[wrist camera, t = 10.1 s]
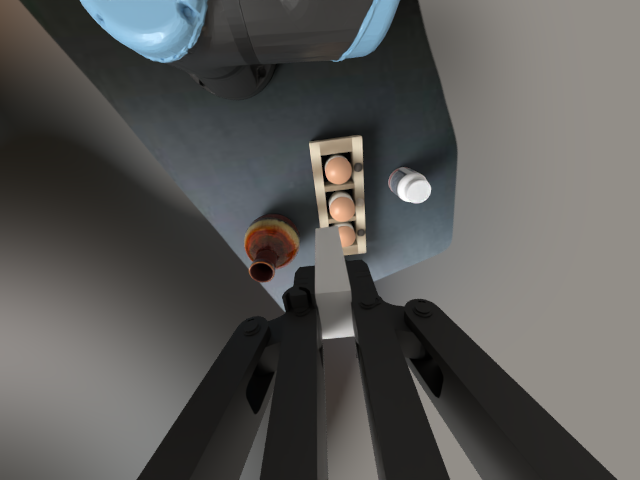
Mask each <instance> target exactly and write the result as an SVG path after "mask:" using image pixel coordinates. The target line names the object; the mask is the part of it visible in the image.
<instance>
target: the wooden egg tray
mask: <svg viewBox="0 0 640 480" xmlns="http://www.w3.org/2000/svg"><path fill="white" fill-rule="evenodd" d="M309 146H310V154H311V161H312V169H313V176H314V183H315V191H316V198H317V206H318V213H319V221H320V228H324V227H329V224H331V223H339V221H336V220H335V219H333V218H332V216H331V214H330V212H327V207H326V198H325V192H329V191H337V190H345V189H352V196H353V203H354V205H355V213H354V215H353V217H352V218H351V219H349V220H348V221H354V229H355V235H356V238H355V241H354V243H353V244H352V245H350V246H348V247H342V249H343V254H344V255H353V254H362V253H366V233H365V205H364V177H363V149H362V136H360V135H354V136H347V137H339V138H332V139H325V140H317V141H310V142H309ZM344 152H350V162H351V168H352V173H351V179H348V180H347V181H346V182H345V183H343V184H333V183H331V182H330V181H329V182H324V181H323V172H322V163H321V155H329V154H336V153H344ZM348 221H345V222H348Z"/></svg>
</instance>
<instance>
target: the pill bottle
mask: <svg viewBox="0 0 640 480" xmlns="http://www.w3.org/2000/svg"><path fill="white" fill-rule="evenodd" d="M388 183H389V187H390V189H391V190H392V191H393V192H394V193H395V194H396V195H397V196H398V197H400V198H401V199H402V200H404V201H406V202H412V203H421V202H423V201H425V200H426V199H427V198H428V197H429V195H430V193H431V186H430V184H429V183H428V182H427V180H426V178H425V177H424V176H423V175H422V174H420V173H418V172H416V171H414V170H412V169H410V168H407V167H401V168H398V169H396V170H395V171H393V172H392V174H391V175H390V177H389V182H388Z"/></svg>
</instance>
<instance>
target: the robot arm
mask: <svg viewBox="0 0 640 480" xmlns="http://www.w3.org/2000/svg"><path fill="white" fill-rule="evenodd" d="M399 1H400V0H80V2H81V3H82V5H83V6H84V7H85V9H86V10H87V11H88V12H89V14H90V15H91V16H92V17H93V18H94V20H95V21H96V22H97V23H98V24H100V25H101V27H102V28H103V29H104V30H106V31H107V32H108V33H109V34H110V35H112V36H113V37H114V38H115V39H117V40H118V41H119V42H121V43H122V44H124V45H126V46H127V47H129V48H131V49H133V50H134V51H136V52H137V53H139V54H140V55H143V56H144V57H146V58H149V59H151V60H153V61H159V62H162V63H165V64H168V65H171V66H173V67H176V68H179V69H181V70H184V71H187V72H188V73H189V74H190V76H191V77H192V78H193V79H194V80H195V81H196V82H197V83H198V84H199V85H200V86H201V87H203V88H204V89H205V90H207V91H208V92H210V93H212V94H214V95H216V96H219V97H222V98H225V99H230V100H244V99H248V98H250V97H253V96H255V95H256V94H258V93H259V92H260V91H261V90H263V89H264V87H265V86H266V85H267V84H268V82H269V81H270V79H271V77H272V75H273V72H274V69H275V66H276V64H277V63H295V62H312V61H330V60H331V61H333V62H338V61H342V60H344V59H345V58H354V57H362V56H365V55H367V54H369V53H371V52H372V51H374V50H375V49H376V48H377V47H378V45H379V44H380V43H381V41H382V40H383V38H384V37H385V35H386V33H387V31H388V29H389V27H390V25H391V22H392V20H393V18H394V15H395V12H396V10H397V7H398V4H399ZM282 299H283V303H284V307H285V310H286V313H285V314H284V315H282V316H280V317H278V318H276V319H273V320H271V321H267V320H266V319H265V318H264V317H260V316H256V317H251V318H248V319H246V320H245V321H243V322H242V323H241V324H240V325H239V326H238V327H237V329H236V330H235V332H234V333H233V335H232V336H231V338H230V339H229V341H228V342H227V344H226V345H225V347H224V348H223V350H222V351H221V353H220V354H219V356H218V357H217V359H216V360H215V362H214V363H213V365H212V366H211V368H210V370H209V371H208V373H207V374H206V376H205V377H204V379H203V380H202V382H201V383H200V385H199V386H198V388H197V389H196V391H195V392H194V394H193V395H192V397H191V398H190V400H189V402H188V403H187V404H186V406H185V408H184V409H183V410H182V412H181V413H180V415H179V416H178V418H177V420H176V421H175V423H174V424H173V426H172V427H171V429H170V430H169V432H168V433H167V435H166V436H165V438H164V439H163V441H162V442H161V444H160V445H159V447H158V448H157V450H156V451H155V453H154V454H153V456H152V457H151V459H150V460H149V462H148V463H147V465H146V466H145V468H144V470H143V471H142V473H141V474H140V476H139V477H138V478H137V480H239V478H240V475H241V473H242V470H243V468H244V465H245V462H246V460H247V457H248V454H249V452H250V449H251V447H252V444H253V441H254V439H255V436H256V434H257V431H258V428H259V426H260V423H261V420H262V418H263V415H264V413H265V410H266V407H267V405H268V402H269V399H270V397H271V394H272V392H273V398H272V404H271V411H270V417H269V423H268V430H267V436H266V443H265V449H264V456H263V462H262V468H261V475H260V480H328V462H327V461H328V459H327V434H326V433H327V431H326V403H325V375H324V349H323V343H322V338H323V339H329V338H339V337H348V336H349V337H350V336H355V344H356V356H357V358H358V363H359V369H360V374H361V380H362V385H363V391H364V397H365V403H366V409H367V415H368V421H369V427H370V433H371V438H372V444H373V450H374V456H375V461H376V467H377V473H378V479H379V480H450V478H449V476H448V473H447V470H446V467H445V465H444V462H443V459H442V457H441V454H440V451H439V449H438V446H437V443H436V440H435V438H434V435H433V433H432V430H431V427H430V424H429V422H428V419H427V416H426V414H425V411H424V408H423V406H422V403H421V400H420V398H419V395H418V392H417V389H416V387H415V384H414V382H413V379H412V376H411V373H410V371H409V368H410V369H411V370H412V372H413V374H414V375H415V377H416V378H417V380H418V381H419V383H420V385H421V386H422V388H423V389H424V391H425V392H426V393H427V395H428V397H429V398H430V400H431V401H432V403H433V404H434V406H435V407H436V409H437V410H438V412H439V414H440V415H441V417H442V418H443V420H444V421H445V423H446V424H447V426H448V427H449V429H450V431H451V432H452V434H453V435H454V437H455V438H456V440H457V441H458V443H459V444H460V446H461V448H462V449H463V450H464V452H465V454H466V455H467V457H468V458H469V460H470V461H471V463H472V464H473V466H474V468H475V469H476V471H477V472H478V474H479V475H480V477H481V478H482V480H617V479H616V478H615V477H614V476H613V475H612V474H611V473H610V472H609V471H608V470H607V469H606V468H605V467H604V466H603V465H602V464H601V463H599V461H597V460H596V459H595V458H594V457H593V456H592V455H591V454H590V453H589V452H588V451H587V450H586V449H585V448H584V447H583V446H582V445H581V444H580V443H579V442H578V441H577V440H576V439H575V438H574V437H572V435H571V434H569V433H568V432H567V431H566V430H565V429H564V428H563V427H562V426H561V425H560V424H559V423H558V422H557V421H556V420H555V419H554V418H553V417H552V416H551V415H550V414H549V413H548V412H547V411H546V410H545V409H543V408H542V407H541V406H540V405H539V404H538V403H537V402H536V401H535V400H534V399H533V398H532V397H531V396H530V395H529V394H528V393H527V392H526V391H525V390H524V389H523V388H522V387H521V386H520V385H518V383H517V382H515V381H514V380H513V379H512V378H511V377H510V376H509V375H508V374H507V373H506V372H505V371H504V370H503V369H502V368H501V367H500V366H499V365H498V364H497V363H496V362H495V361H494V360H493V359H492V358H491V357H490V356H489V355H488V354H487V353H485V352H484V351H483V350H482V349H481V348H480V347H479V346H478V345H477V344H476V343H475V342H474V341H473V340H472V339H471V338H470V337H469V336H468V335H467V334H466V333H465V332H464V331H463V330H462V329H461V328H460V327H458V326H457V325H456V324H455V323H454V322H453V321H452V320H451V319H450V318H449V317H448V316H447V315H446V314H445V313H444V312H443V311H442V310H441V309H440V308H439V307H438V306H437V305H435V304H434V303H432V302H430V301H427V300H424V299H414V300H411V301H409V302H407V303H406V305H405V307H403V306H396V305H392V304H389V303H386V302H385V301H383V300H382V298H381V297H380V296H379V295H378V293H377V291H376V288H375V285H374V282H373V279H372V277H371V274H370V271H369V268H368V265H367V264H366V263H365V262H364V261H363V260H354V261H345V259H344V254H343V249H342V244H341V239H340V235H339V230H338V226H333V227H324V228H316V229H315V266H306V267H299V269H298V270H297V271H296V272H295V277H294V285H293V287H291V288H289V289H288V290H287V291H286V292H284V294H283V296H282ZM408 366H409V368H408ZM273 389H274V391H273Z"/></svg>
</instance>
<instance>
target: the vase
mask: <svg viewBox="0 0 640 480" xmlns="http://www.w3.org/2000/svg"><path fill="white" fill-rule="evenodd" d="M244 246H245V251H246V253H247V255H248V257H249V258H250V260H251V261H252V262H253V263H252V264H251V266H250V269H249V273H250V276H251V277H252V278H253V279H254V280H256V281H258V282H268V281H270V280H271V279H272V278H273V277H274V275H275V269H280V268H283V267H285V266H287V265H288V264H290V263H291V262H292V261H293V260H294V258H295V257H296V255H297V254H298V251H299V247H300V236H299V232H298V230H297V228H296V226H295V225H294V223H293V222H292V221H291V220H290V219H288V218H287V217H285V216H282V215H279V214H267V215H263V216H261V217H259V218H258V219H256V220H255V221H254V222H253V223H252V224H251V225H250V226H249V228H248V229H247V231H246V234H245V238H244Z"/></svg>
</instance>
